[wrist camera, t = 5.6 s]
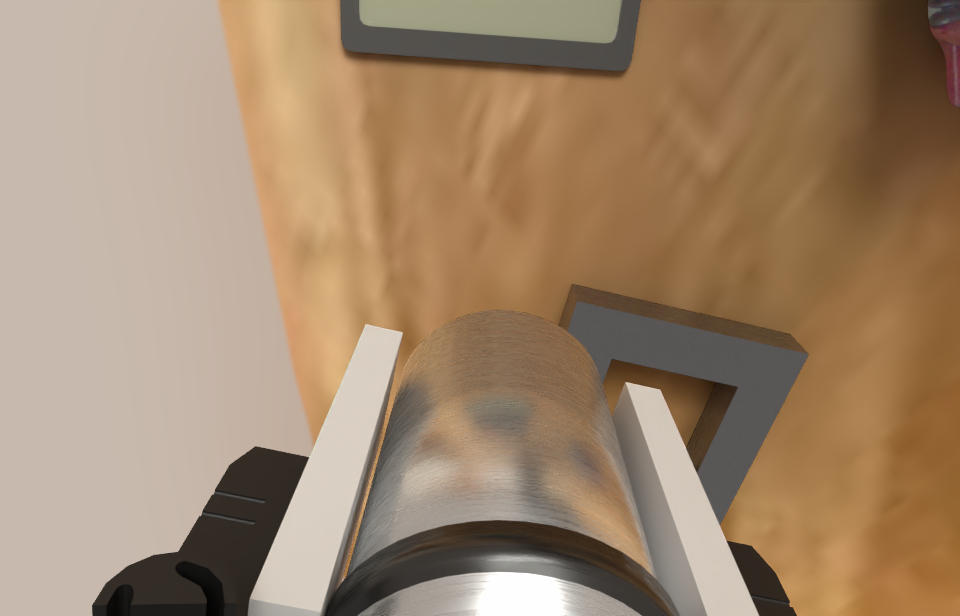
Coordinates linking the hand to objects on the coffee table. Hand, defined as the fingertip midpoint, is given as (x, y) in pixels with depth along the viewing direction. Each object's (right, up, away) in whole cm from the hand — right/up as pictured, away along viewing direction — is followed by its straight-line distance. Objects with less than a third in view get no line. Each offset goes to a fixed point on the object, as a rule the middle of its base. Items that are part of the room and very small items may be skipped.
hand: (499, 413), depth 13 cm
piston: (0, 0, 0) cm, 0 cm away
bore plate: (+8, -3, +19) cm, 21 cm away
